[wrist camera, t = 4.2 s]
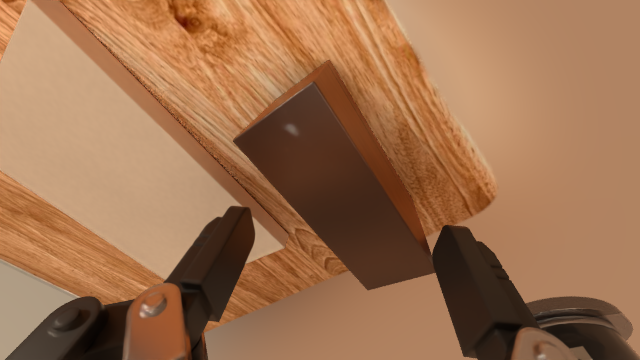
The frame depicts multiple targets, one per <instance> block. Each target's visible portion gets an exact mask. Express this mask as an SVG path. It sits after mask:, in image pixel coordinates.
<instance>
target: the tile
mask: <svg viewBox="0 0 640 360" xmlns="http://www.w3.org/2000/svg"><path fill="white" fill-rule="evenodd" d="M0 171H2V172H3V173H5V174H6V175H8V176H9V177H11V178H12V179H14V180H15V181H17V182H18V183H20V184H21V185H23V186H24V187H26V188H27V189H29V190H30V191H32V192H33V193H35V194H36V195H38V196H39V197H41V198H42V199H44V200H45V201H47V202H48V203H50V204H51V205H53V206H54V207H56V208H57V209H59V210H60V211H62V212H63V213H65V214H66V215H68V216H69V217H71V218H72V219H74V220H75V221H77V222H78V223H80V224H81V225H83V226H84V227H86V228H87V229H89V230H90V231H92V232H93V233H95V234H96V235H98V236H99V237H101V238H102V239H104V240H105V241H107V242H108V243H110V244H111V245H113V246H114V247H116V248H117V249H119V250H120V251H122V252H123V253H125V254H126V255H128V256H129V257H131V258H132V259H134V260H135V261H137V262H138V263H140V264H141V265H143V266H144V267H146V268H147V269H149V270H150V271H152V272H153V273H155V274H156V275H158V276H159V277H161V278H162V279H164V280H166V279H167V278H168V276H169V275H170V274H171V272H172V271H173V270H174V268H175V267H176V266H177V264H178V263H179V261H180V260H181V259H182V257H183V256H184V255H185V253H186V252H187V251H188V249H189V248H190V246H192V245H193V242H194V241H195V240H196V238H197V237H199V234H200V233H201V231H202V230H203V229H204V227H205V226H206V225H207V224H208V223H209V222H211V221H212V220H213V219H215V218H216V217H223V215H224V214H225V212H226V211H227V209H228V208H229V207H230V206H242V207H249V208H250V210H251V214H252V219H253V224H254V229H255V242H254V245H253V248H252V250H251V252H250V254H249V256H248V259H247V261H246V263H245V264H247V263H249V262H252V261H254V260H256V259H259V258H261V257H264V256H266V255H269V254H271V253H274V252H276V251H279V250H281V249H284V248H285V246H286V243H287V240H288V237H289V234H288V233H287V232H286V231H285V230H284V229H283V228H282V227H281V226H280V225H279V224H278V223H277V222H276V221H275V220H274V219H273V218H272V217H271V216H270V215H269V214H268V213H267V212H266V211H265V210H264V209H263V208H262V207H261V206H260V205H259V204H258V203H257V202H256V201H255V200H254V199H253V198H252V197H251V196H250V195H249V194H248V193H247V192H246V190H245V189H244V188H243V187H242V186H241V185H240V184H239V183H238V182H237V181H236V180H235V179H234V178H233V177H232V176H231V175H230V174H229V173H228V172H227V171H226V170H225V169H224V168H223V167H222V166H221V165H220V164H219V163H218V162H217V161H216V160H215V159H214V158H213V157H212V156H211V155H210V154H209V153H208V152H207V151H206V150H205V149H204V148H203V147H202V146H201V145H200V144H199V143H198V142H197V141H196V139H195V138H194V137H193V136H192V135H191V134H190V133H189V132H188V131H187V130H186V129H185V128H184V127H183V126H182V125H181V124H180V123H179V122H178V121H177V120H176V119H175V118H174V117H173V116H172V115H171V114H170V113H169V112H168V111H167V110H166V109H165V108H164V107H163V106H162V105H161V104H160V103H159V102H158V101H157V100H156V99H155V98H154V97H153V96H152V95H151V94H150V93H149V92H148V91H147V89H146V88H145V87H144V86H143V85H142V84H141V83H140V82H139V81H138V80H137V79H136V78H135V77H134V76H133V75H132V74H131V73H130V72H129V71H128V70H127V69H126V68H125V67H124V66H123V65H122V64H121V63H120V62H119V61H118V60H117V59H116V58H115V57H114V56H113V55H112V54H111V53H110V52H109V51H108V50H107V49H106V48H105V47H104V46H103V45H102V44H101V43H100V42H99V41H98V40H97V38H96V37H95V36H94V35H93V34H92V33H91V32H90V31H89V30H88V29H87V28H86V27H85V26H84V25H83V24H82V23H81V22H80V21H79V20H78V19H77V18H76V17H75V16H74V15H73V14H72V13H71V12H70V11H69V10H68V9H67V8H66V7H65V6H64V5H63V4H62V3H61V2H60V1H57V0H27V2H26V4H25V6H24V8H23V11H22V13H21V15H20V18H19V20H18V22H17V24H16V27H15V29H14V31H13V34H12V36H11V38H10V40H9V43H8V45H7V47H6V50H5V52H4V54H3V56H2V59H1V61H0Z"/></svg>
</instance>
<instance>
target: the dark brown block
mask: <svg viewBox="0 0 640 360" xmlns="http://www.w3.org/2000/svg"><path fill="white" fill-rule="evenodd" d="M233 142H234V143H235V144H236V145H237V146H238V147H239V148H240V150H241V151H242V152H243V153H244V154H245V155H246V156H247V157H248V158H249V159H250V161H251V162H252V163H253V164H254V165H255V166H256V167H257V168H258V169H259V171H260V172H261V173H262V174H263V175H264V176H265V177H266V178H267V179H268V181H269V182H270V183H271V184H272V185H273V186H274V187H275V188H276V189H277V190H278V192H279V193H280V194H281V195H282V196H283V197H284V198H285V199H286V200H287V202H288V203H289V204H290V205H291V206H292V207H293V208H294V209H295V210H296V212H297V213H298V214H299V215H300V216H301V217H302V218H303V219H304V220H305V221H306V223H307V224H308V225H309V226H310V227H311V228H312V229H313V230H314V231H315V233H316V234H317V235H318V236H319V237H320V238H321V239H322V240H323V241H324V242H325V244H326V245H327V246H328V247H329V248H330V249H331V250H332V251H333V252H334V254H335V255H336V256H337V257H338V258H339V259H340V260H341V261H342V262H343V264H344V265H345V266H346V267H347V268H348V269H349V270H350V271H351V272H352V273H353V275H354V276H355V277H356V278H357V279H358V280H359V281H360V282H361V283H362V284H363V286H364V287H365V288H366V289H367V290H371V289H375V288H378V287H382V286H386V285H390V284H394V283H398V282H402V281H405V280H409V279H413V278H417V277H421V276H424V275H429V274H432V273H436V272H435V269H434V266H433V261H432V255H431V252H430V249H429V246H428V243H427V240H426V237H425V234H424V231H423V228H422V226H421V223H420V220H419V217H418V214H417V211H416V208H415V205H414V202H413V200H412V198H411V196H410V195H409V193H408V191H407V189H406V188H405V186H404V184H403V183H402V181H401V179H400V178H399V176H398V174H397V173H396V171H395V169H394V167H393V166H392V164H391V162H390V161H389V159H388V157H387V156H386V154H385V152H384V151H383V149H382V147H381V146H380V144H379V142H378V140H377V139H376V137H375V135H374V134H373V132H372V130H371V129H370V127H369V125H368V124H367V122H366V120H365V118H364V117H363V115H362V113H361V112H360V110H359V108H358V107H357V105H356V103H355V102H354V100H353V98H352V97H351V95H350V93H349V91H348V90H347V88H346V86H345V85H344V83H343V81H342V80H341V78H340V76H339V75H338V73H337V71H336V69H335V68H334V66H333V64H332V63H331V61H330V60H328V61H326V62H325V63H324V64H322V65H321V66H320V67H318V68H317V69H316V70H314V71H313V72H312V73H310V74H309V75H308V76H306V77H305V78H304V79H302V80H301V81H300V82H298V83H297V84H296V85H295V86H293V87H292V88H291V89H289V90H288V91H287V92H285V93H284V94H283V95H281V96H280V97H279V98H277V99H276V100H275V101H274V102H273V103H272V104H270V105H269V106H268V107H267V108H266V109H265V110H264V111H263V112H262V113H261V114H260V115H259V116H258V117H257V118H255V119H254V120H253V121H252V122H251V123H250V124H249V125H248V126H247V127H246V128H245V129H244V130H243V131H242V132H241V133H239V134H238V135H237V136H236V137H235V138H234V139H233Z"/></svg>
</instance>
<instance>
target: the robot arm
mask: <svg viewBox="0 0 640 360" xmlns="http://www.w3.org/2000/svg"><path fill="white" fill-rule="evenodd" d="M254 242H255V229H254V224H253V219H252V214H251V210H250V208H249V207H242V206H230V207H229V208H228V209H227V211H226V212H225V214H224V215H223V217H216V218H215V219H213V220H212V221H211V222H209V223H208V224H207V225H206V226H205V227H204V229H203V230H202V231H201V233H200V234H199V237H197V238H196V240H195V241H194V242H193V245H192V246H190V248H189V249H188V251H187V252H186V253H185V255H184V256H183V257H182V259H181V260H180V261H179V263H178V264H177V266H176V267H175V268H174V270H173V271H172V272H171V274H170V275H169V276H168V278H167V279H166V280H165V282H164V283H161V284H157V285H155V286H152V287H150V288H149V289H147V290H145V291H144V292H142V293H141V294H140V295H139V296H138V297H137V298H136V299H133V300H129V301H123V302H118V303H113V304H108V305H103V304H102V303H101V302H100V301H99V300H98V299H97V298H95V297H90V296H88V297H81V298H77V299H75V300H72V301H70V302H68V303H66V304H64V305H62V306H61V307H59V308H58V309H56V310H55V311H54V312H52V313H51V314H50V315H49V316H48V317H47V318H46V319H45V320H44V321H43V322H42V323H41V324H40V325H39V326H38V327H37V328H36V329H35V330H34V331H33V332H32V333H31V334H30V335H29V336H28V337H27V338H26V339H25V340H24V341H23V342H22V343H21V344H20V345H19V346H18V347H17V348H16V349H15V350H14V351H13V352H12V353H11V354H10V355H9V356H8V357H7V358H6V359H5V360H208V356H207V349H206V343H205V337H204V332H203V331H204V328H205V326H206V324H207V322H208V321H216V322H219V321H220V319H221V316H222V314H223V312H224V310H225V308H226V305H227V303H228V301H229V299H230V296H231V294H232V292H233V290H234V288H235V285H236V283H237V281H238V279H239V276H240V274H241V272H242V270H243V268H244V265H245V263H246V261H247V259H248V256H249V254H250V252H251V250H252V248H253V245H254ZM432 261H433V266H434V269H435V272H436V275H437V278H438V281H439V284H440V287H441V290H442V293H443V296H444V299H445V302H446V305H447V308H448V311H449V314H450V317H451V320H452V323H453V326H454V329H455V332H456V335H457V338H458V340H459V344H460V347H461V350H462V353H463V356H464V357H471V358H477V359H478V360H640V357H639V356H638V354H637V353H636V352H635V351H634V350H633V349H632V348H631V346H630V345H629V344H628V343H627V342H626V341H625V339H624V338H623V336H622V334H621V333H620V332H619V331H618V330H617V328H616V327H615V326H614V325H613V324H611V323H610V322H608V321H605V320H603V319H599V318H595V317H588V316H562V317H553V318H548V319H543V320H540V321H537V322H536V320H535V319H534V317H533V315H532V314H531V312H530V310H529V309H528V307H527V306H526V304H525V303H524V301H523V299H522V298H521V296H520V294H519V293H518V291H517V289H516V288H515V286H514V285H513V283H512V281H511V280H509V276H508V275H507V273H506V272H505V270H504V269H502V265H501V264H500V262H499V260H498V259H497V257H496V256H495V254H494V253H493V252H492V251H491V250H490V249H489V248H488V247H487V246H486V245H484V244H483V243H482V242H479V241H476V240H475V238H474V237H473V235H472V233H471V231H470V230H469V229H468V228H467V227H462V226H452V225H445V226H444V227H443V228H442V230H441V233H440V235H439V238H438V240H437V242H436V245H435V247H434V249H433V254H432Z"/></svg>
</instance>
